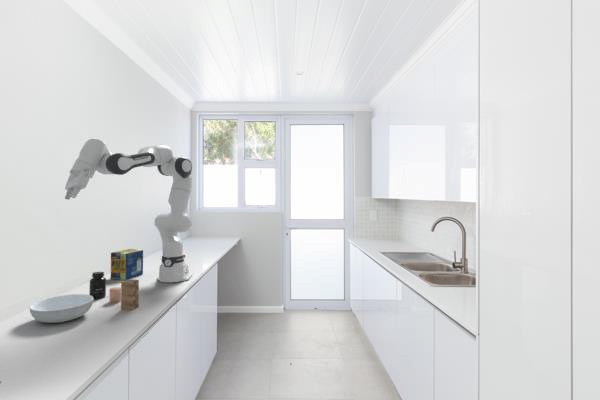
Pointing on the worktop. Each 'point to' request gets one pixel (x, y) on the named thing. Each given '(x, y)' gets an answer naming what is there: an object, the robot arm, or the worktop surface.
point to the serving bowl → (61, 308)
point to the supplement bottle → (98, 285)
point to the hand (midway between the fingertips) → (69, 198)
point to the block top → (129, 285)
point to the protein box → (126, 264)
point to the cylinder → (115, 295)
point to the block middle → (129, 295)
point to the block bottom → (130, 304)
